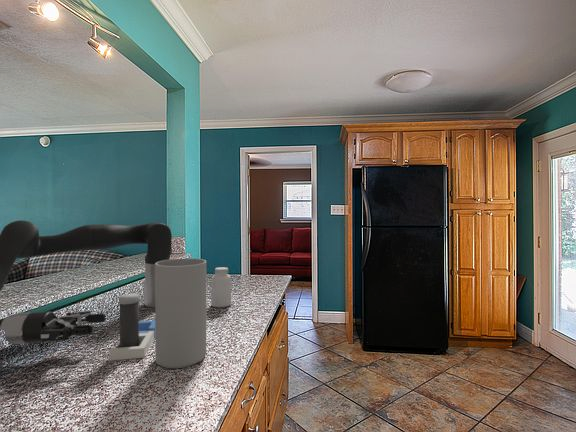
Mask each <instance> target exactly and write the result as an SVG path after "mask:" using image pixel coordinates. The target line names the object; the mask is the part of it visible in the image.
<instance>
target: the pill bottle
mask: <svg viewBox="0 0 576 432" xmlns="http://www.w3.org/2000/svg"><path fill="white" fill-rule="evenodd" d="M228 273H229V268H228V267H227V266H226V267H224V266H223V267H222V266H221V267H215V269H214V274H213V275H212V276H211V280H210V287H211V289H210V292H211V294H210V304H211V307H213V308H226V307H229V306H231V305H232V277H231V275H230V274H228Z"/></svg>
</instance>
